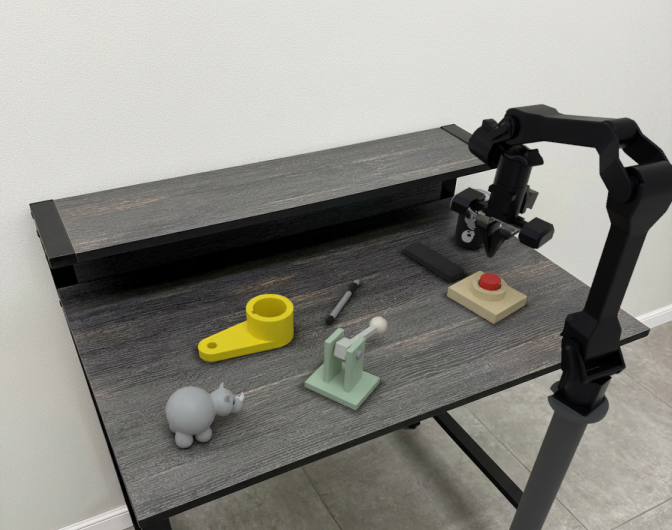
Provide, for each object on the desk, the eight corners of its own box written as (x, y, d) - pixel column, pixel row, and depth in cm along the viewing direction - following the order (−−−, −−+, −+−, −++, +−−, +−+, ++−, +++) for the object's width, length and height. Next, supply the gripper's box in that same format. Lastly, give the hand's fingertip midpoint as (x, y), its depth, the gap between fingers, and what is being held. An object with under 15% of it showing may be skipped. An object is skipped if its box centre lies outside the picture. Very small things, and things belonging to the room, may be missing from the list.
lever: (372, 327, 113) (376, 311, 111) (388, 333, 111) (392, 317, 110) (330, 356, 101) (333, 339, 99) (347, 363, 100) (350, 346, 98)
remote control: (401, 254, 139) (450, 282, 130) (401, 247, 138) (451, 275, 129) (417, 247, 142) (466, 275, 133) (418, 240, 141) (467, 268, 132)
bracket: (329, 361, 110) (331, 316, 104) (379, 383, 107) (384, 338, 100) (304, 387, 105) (304, 341, 99) (355, 410, 101) (359, 365, 95)
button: (503, 286, 124) (505, 279, 123) (490, 293, 122) (492, 286, 121) (487, 278, 126) (489, 270, 125) (474, 284, 124) (476, 277, 123)
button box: (524, 305, 125) (529, 288, 123) (493, 324, 120) (498, 307, 118) (477, 279, 132) (481, 262, 129) (446, 296, 127) (449, 279, 124)
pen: (324, 324, 118) (324, 319, 117) (356, 280, 130) (356, 275, 129) (331, 326, 118) (331, 320, 117) (362, 282, 129) (362, 276, 129)
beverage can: (450, 246, 142) (459, 197, 134) (457, 233, 146) (466, 185, 138) (479, 253, 140) (489, 203, 132) (485, 239, 145) (495, 191, 137)
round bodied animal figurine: (253, 434, 97) (250, 394, 91) (175, 456, 93) (168, 416, 87) (239, 404, 101) (236, 364, 96) (165, 423, 98) (157, 383, 92)
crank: (280, 315, 120) (279, 289, 116) (301, 339, 114) (301, 313, 111) (191, 343, 112) (187, 316, 108) (209, 370, 107) (206, 343, 103)
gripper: (581, 185, 108) (554, 261, 119) (490, 148, 117) (473, 222, 127) (550, 207, 102) (524, 285, 113) (456, 166, 110) (440, 242, 121)
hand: (490, 256), depth 119 cm, fingers closed
